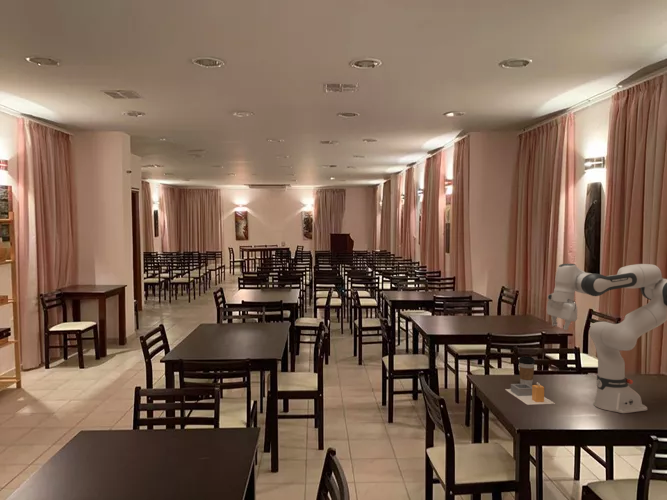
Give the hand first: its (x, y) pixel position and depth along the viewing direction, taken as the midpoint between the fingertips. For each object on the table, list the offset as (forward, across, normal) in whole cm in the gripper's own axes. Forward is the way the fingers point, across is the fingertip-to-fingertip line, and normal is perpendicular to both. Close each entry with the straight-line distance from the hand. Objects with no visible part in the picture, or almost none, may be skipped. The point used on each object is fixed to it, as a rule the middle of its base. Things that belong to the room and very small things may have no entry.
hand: (559, 327), depth 243 cm
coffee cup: (+37, +36, -6) cm, 52 cm away
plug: (+37, +8, +2) cm, 38 cm away
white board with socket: (+38, +15, +3) cm, 41 cm away
